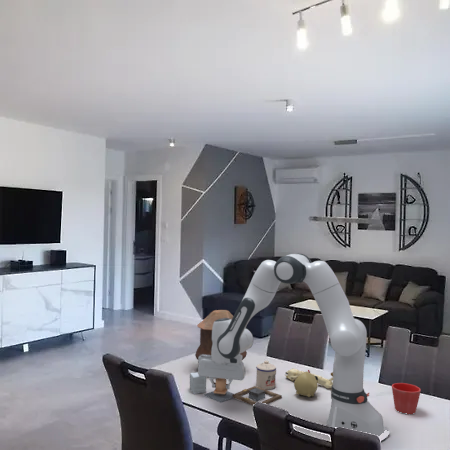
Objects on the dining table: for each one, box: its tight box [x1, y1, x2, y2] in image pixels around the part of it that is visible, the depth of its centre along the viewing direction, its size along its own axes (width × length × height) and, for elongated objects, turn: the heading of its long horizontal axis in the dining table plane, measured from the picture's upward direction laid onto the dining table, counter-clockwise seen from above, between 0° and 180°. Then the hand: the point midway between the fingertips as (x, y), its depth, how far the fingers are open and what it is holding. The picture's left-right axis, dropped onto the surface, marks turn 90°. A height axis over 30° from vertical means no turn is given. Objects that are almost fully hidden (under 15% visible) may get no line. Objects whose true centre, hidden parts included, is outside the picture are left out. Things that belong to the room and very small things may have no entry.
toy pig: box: [293, 371, 319, 398], centre depth 204 cm, size 10×12×11 cm
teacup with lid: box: [255, 360, 277, 390], centre depth 215 cm, size 12×9×12 cm
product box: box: [189, 371, 207, 395], centre depth 206 cm, size 6×6×7 cm
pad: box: [203, 390, 234, 403], centre depth 201 cm, size 10×10×1 cm
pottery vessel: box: [194, 309, 248, 361], centre depth 234 cm, size 26×26×30 cm
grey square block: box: [248, 388, 266, 402], centre depth 200 cm, size 5×5×3 cm
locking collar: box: [232, 385, 283, 406], centre depth 200 cm, size 15×15×2 cm
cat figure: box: [285, 368, 333, 389], centre depth 219 cm, size 10×9×25 cm
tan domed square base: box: [213, 378, 229, 394], centre depth 201 cm, size 6×5×5 cm
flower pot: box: [391, 382, 421, 415], centre depth 191 cm, size 11×11×10 cm
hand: (220, 388), depth 201 cm, fingers open, 5 cm apart
